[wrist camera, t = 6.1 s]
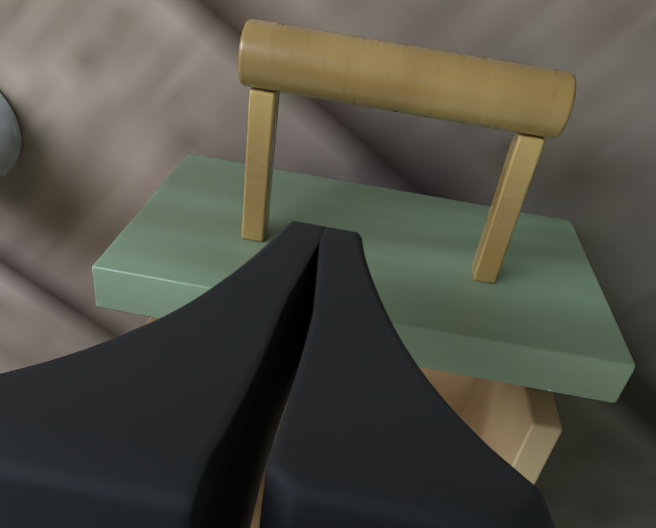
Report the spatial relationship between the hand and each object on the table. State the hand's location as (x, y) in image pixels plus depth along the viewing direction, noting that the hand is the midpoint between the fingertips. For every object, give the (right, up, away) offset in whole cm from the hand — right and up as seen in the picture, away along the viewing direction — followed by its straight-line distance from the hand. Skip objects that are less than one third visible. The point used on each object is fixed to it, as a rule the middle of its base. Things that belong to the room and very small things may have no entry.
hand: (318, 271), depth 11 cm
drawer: (+1, 0, +10) cm, 10 cm away
